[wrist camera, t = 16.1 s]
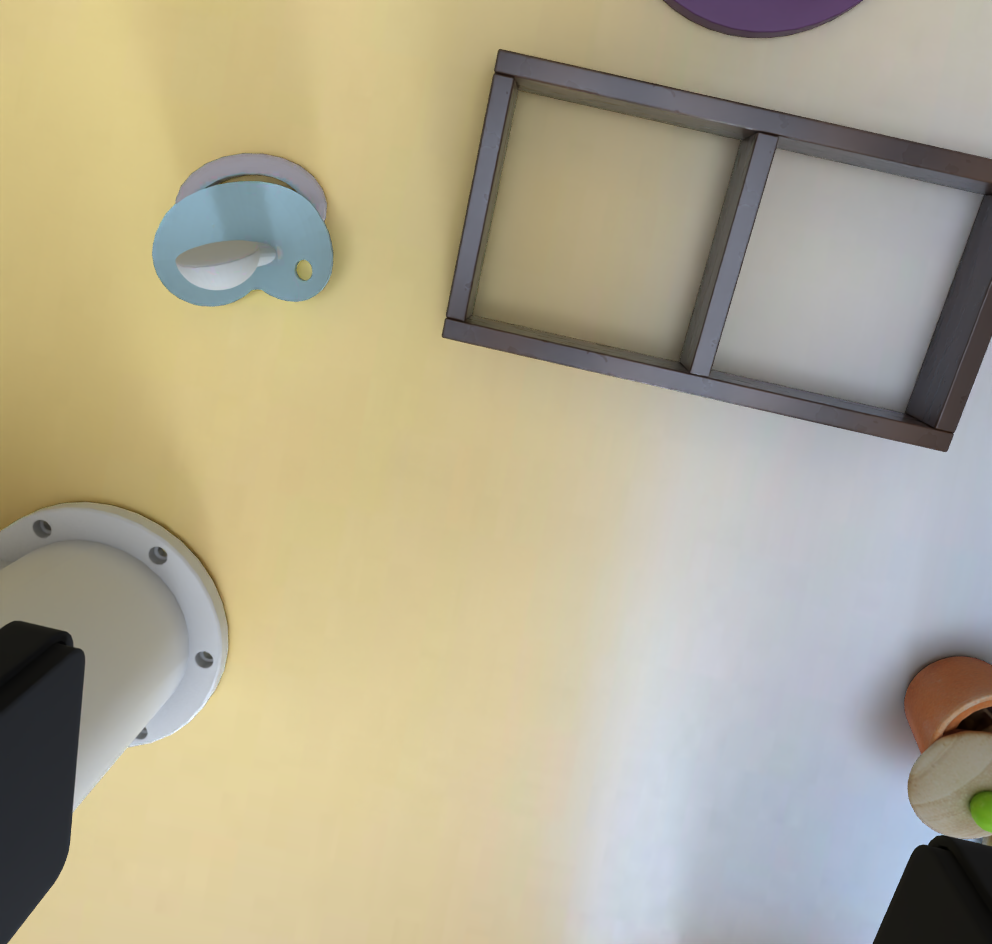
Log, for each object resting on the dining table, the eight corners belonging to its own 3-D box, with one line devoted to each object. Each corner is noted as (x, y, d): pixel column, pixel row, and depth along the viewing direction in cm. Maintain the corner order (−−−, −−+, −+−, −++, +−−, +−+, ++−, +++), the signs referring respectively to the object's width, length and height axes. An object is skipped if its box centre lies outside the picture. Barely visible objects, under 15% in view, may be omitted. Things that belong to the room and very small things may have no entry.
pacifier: (164, 161, 35) (185, 307, 36) (81, 140, 29) (111, 316, 30) (336, 148, 34) (350, 297, 36) (288, 124, 28) (308, 304, 30)
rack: (450, 329, 36) (441, 337, 33) (503, 64, 33) (498, 48, 30) (916, 435, 36) (947, 452, 33) (1011, 178, 33) (1055, 172, 30)
